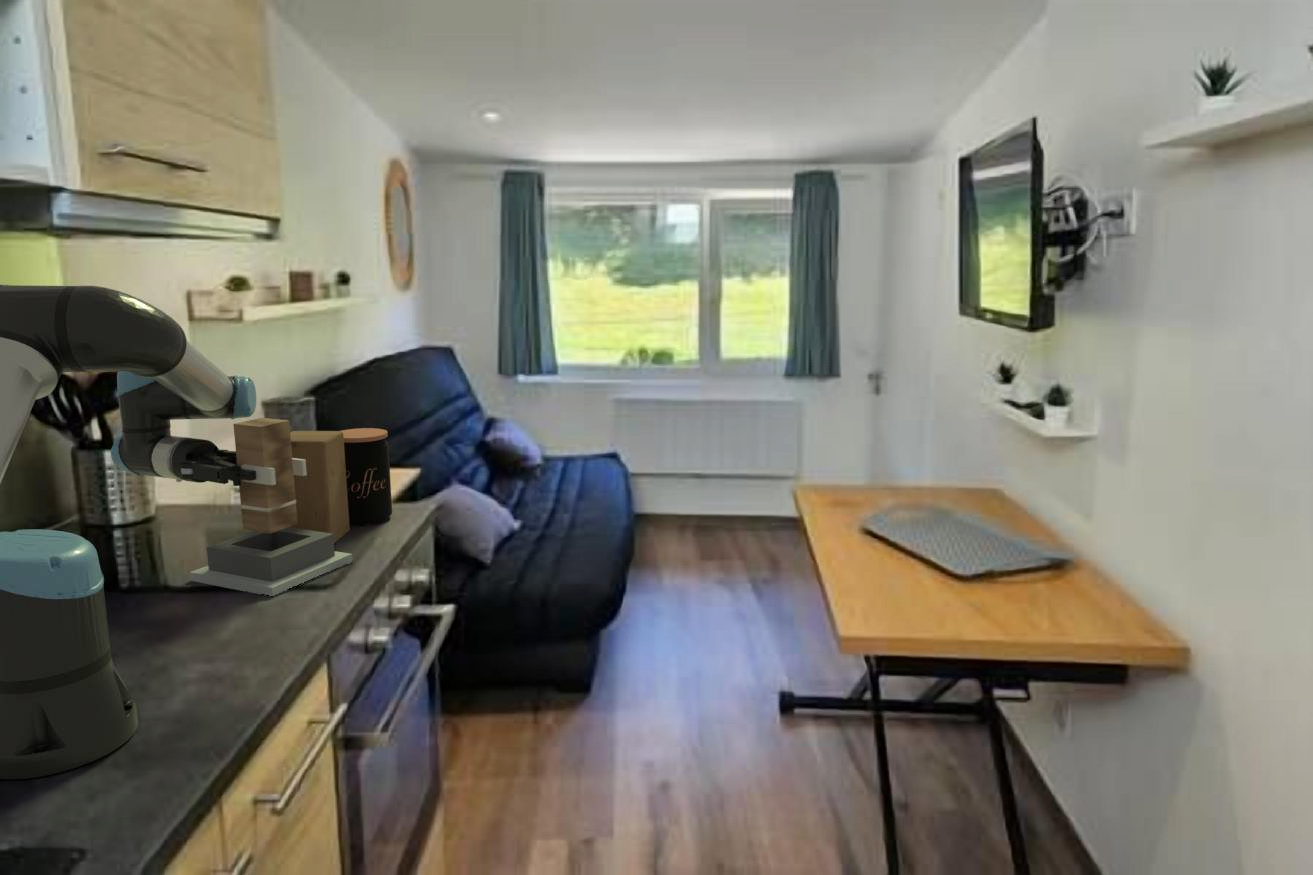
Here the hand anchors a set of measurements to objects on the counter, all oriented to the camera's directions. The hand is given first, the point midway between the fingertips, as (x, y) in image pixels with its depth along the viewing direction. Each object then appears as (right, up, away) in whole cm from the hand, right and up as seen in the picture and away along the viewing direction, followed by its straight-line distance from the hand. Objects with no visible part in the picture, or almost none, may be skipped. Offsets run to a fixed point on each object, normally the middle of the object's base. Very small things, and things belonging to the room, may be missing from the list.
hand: (289, 472), depth 148 cm
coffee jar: (+1, -11, +36) cm, 38 cm away
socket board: (-5, -17, +5) cm, 18 cm away
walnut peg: (-5, -9, +4) cm, 11 cm away
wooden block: (-5, -14, +23) cm, 27 cm away
